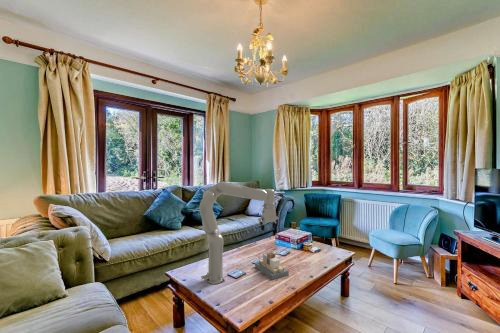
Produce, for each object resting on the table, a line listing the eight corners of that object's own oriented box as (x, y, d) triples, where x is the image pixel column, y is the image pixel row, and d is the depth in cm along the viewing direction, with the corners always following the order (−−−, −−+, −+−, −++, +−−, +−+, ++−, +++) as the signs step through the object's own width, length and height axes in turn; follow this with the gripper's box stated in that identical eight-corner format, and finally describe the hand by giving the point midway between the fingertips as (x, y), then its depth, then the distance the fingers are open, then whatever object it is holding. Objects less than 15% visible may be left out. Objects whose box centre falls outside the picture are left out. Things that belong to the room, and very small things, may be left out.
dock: (272, 281, 153) (272, 275, 153) (255, 268, 172) (255, 262, 172) (288, 276, 160) (288, 270, 160) (270, 264, 179) (270, 259, 179)
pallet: (274, 273, 155) (274, 259, 155) (259, 262, 173) (259, 249, 173) (284, 271, 159) (284, 257, 159) (267, 260, 177) (267, 248, 177)
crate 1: (266, 263, 167) (266, 256, 167) (262, 260, 171) (263, 254, 171) (272, 262, 169) (272, 255, 169) (268, 259, 173) (268, 253, 173)
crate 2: (273, 268, 159) (273, 261, 159) (269, 265, 163) (269, 258, 163) (279, 266, 161) (279, 259, 161) (275, 264, 166) (275, 257, 165)
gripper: (261, 207, 159) (261, 232, 159) (281, 206, 168) (281, 229, 168) (256, 206, 166) (255, 229, 166) (275, 204, 174) (275, 226, 174)
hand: (268, 229), depth 167 cm, fingers open, 9 cm apart
